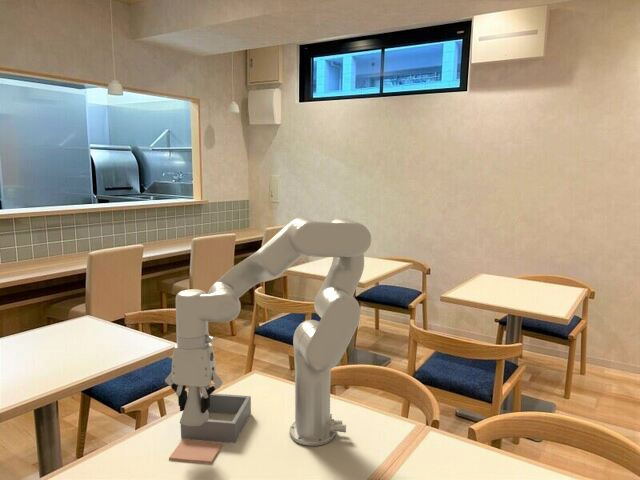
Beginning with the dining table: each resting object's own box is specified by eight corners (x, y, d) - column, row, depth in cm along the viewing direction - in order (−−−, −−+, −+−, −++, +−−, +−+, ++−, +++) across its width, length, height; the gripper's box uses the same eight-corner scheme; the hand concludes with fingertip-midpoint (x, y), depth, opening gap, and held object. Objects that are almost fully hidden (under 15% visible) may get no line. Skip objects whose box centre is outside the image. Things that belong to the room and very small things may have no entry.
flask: (201, 429, 113) (200, 390, 112) (174, 425, 114) (173, 387, 113) (214, 414, 120) (213, 377, 119) (188, 410, 122) (187, 374, 120)
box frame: (251, 413, 138) (250, 396, 137) (235, 442, 123) (234, 423, 122) (202, 409, 139) (201, 392, 139) (181, 438, 125) (180, 419, 124)
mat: (222, 444, 122) (222, 442, 122) (211, 463, 114) (211, 461, 114) (182, 441, 123) (182, 439, 123) (169, 459, 116) (169, 457, 115)
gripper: (231, 337, 117) (231, 404, 119) (166, 332, 119) (168, 399, 122) (220, 348, 109) (222, 420, 112) (152, 343, 112) (155, 414, 114)
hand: (194, 408), depth 117 cm, fingers closed on flask, 4 cm apart
